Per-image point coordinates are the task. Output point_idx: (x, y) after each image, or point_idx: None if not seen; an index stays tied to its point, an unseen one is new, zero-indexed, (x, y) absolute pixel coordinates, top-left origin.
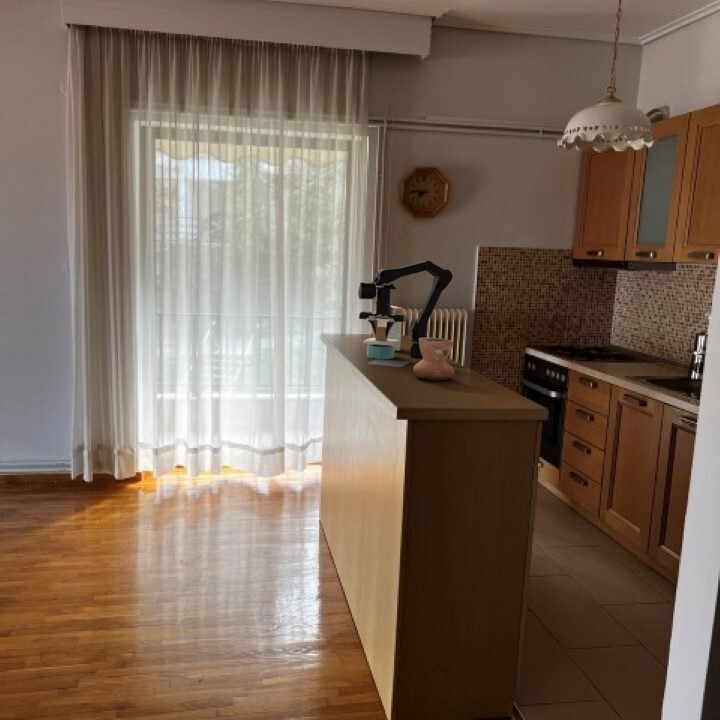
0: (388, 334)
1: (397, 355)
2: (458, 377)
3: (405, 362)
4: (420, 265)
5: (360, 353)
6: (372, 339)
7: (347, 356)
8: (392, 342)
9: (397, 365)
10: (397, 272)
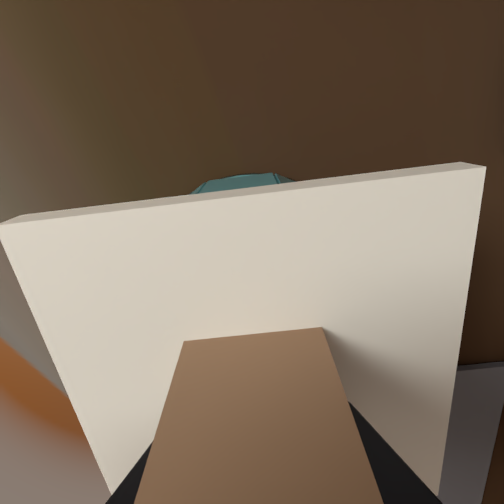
0: (382, 443)
1: (345, 21)
2: None
3: (485, 397)
4: None
5: (6, 171)
6: (131, 386)
7: (48, 376)
8: (434, 455)
9: (449, 498)
10: None
